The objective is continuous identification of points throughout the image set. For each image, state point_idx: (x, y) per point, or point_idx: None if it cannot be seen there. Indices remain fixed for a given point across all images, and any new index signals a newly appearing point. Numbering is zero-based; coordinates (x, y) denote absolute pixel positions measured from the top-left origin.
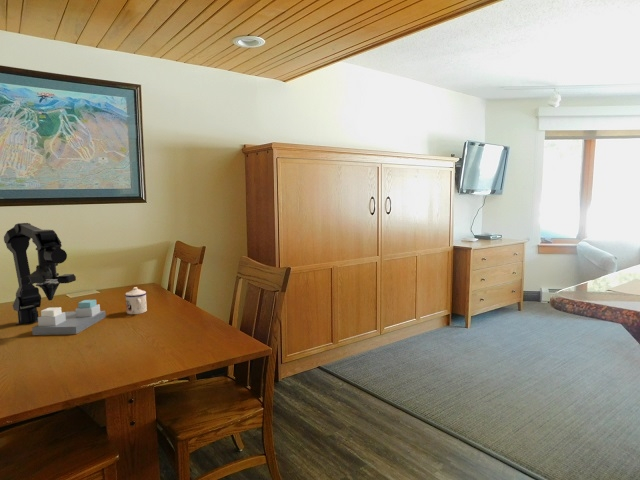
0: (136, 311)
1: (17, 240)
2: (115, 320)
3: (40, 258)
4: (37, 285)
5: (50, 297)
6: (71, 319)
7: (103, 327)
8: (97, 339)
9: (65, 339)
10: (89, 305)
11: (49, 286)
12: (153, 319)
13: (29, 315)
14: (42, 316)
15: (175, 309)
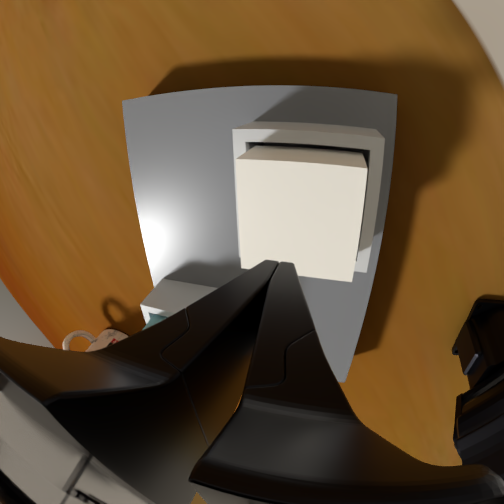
0: (103, 334)
1: None
2: (121, 279)
3: None
4: (446, 483)
5: (245, 272)
6: (234, 244)
7: (101, 192)
8: (50, 54)
9: (151, 23)
10: (149, 326)
11: (71, 366)
12: (39, 260)
13: (491, 339)
14: (353, 154)
15: (60, 334)
